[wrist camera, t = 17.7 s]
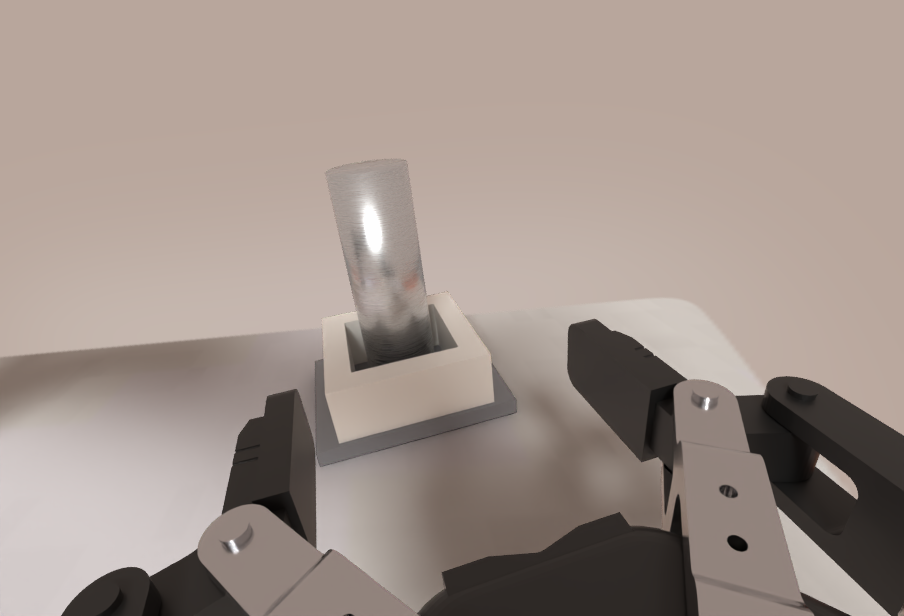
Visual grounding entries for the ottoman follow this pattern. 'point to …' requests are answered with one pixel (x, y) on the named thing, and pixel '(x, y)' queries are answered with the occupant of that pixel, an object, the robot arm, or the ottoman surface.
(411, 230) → the silver metal cylinder
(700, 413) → the robot arm
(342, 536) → the ottoman surface
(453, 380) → the dock
